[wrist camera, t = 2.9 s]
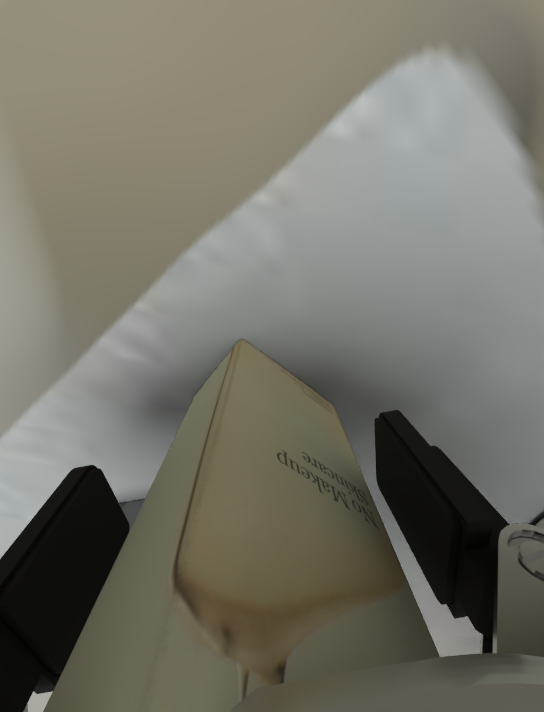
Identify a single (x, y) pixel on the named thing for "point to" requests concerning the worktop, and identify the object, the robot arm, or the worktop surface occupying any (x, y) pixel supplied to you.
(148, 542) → the skincare box
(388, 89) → the worktop surface
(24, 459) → the worktop surface
